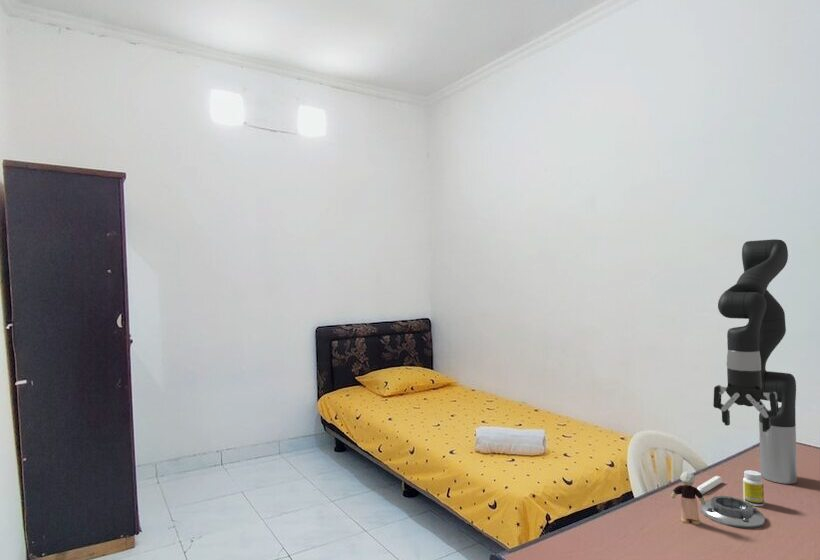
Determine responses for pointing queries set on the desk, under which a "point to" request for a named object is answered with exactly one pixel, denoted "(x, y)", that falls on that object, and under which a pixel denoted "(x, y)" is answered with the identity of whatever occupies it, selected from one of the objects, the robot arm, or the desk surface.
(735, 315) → the robot arm
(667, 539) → the desk surface
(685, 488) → the grandmother figurine
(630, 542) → the desk surface
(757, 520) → the hub plate
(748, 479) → the supplement bottle
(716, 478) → the white pencil
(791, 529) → the desk surface
